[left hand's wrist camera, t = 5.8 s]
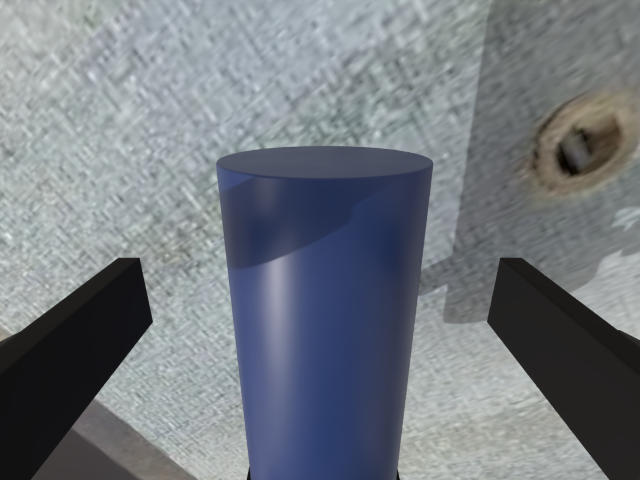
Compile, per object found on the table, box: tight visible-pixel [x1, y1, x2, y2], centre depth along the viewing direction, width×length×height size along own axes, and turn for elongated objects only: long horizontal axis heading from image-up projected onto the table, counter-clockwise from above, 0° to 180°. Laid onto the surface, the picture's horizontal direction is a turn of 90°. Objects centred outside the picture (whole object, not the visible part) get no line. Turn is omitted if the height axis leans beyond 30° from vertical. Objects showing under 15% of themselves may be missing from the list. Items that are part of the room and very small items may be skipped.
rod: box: [216, 146, 433, 480], centre depth 19 cm, size 27×9×9 cm, turn 0°
